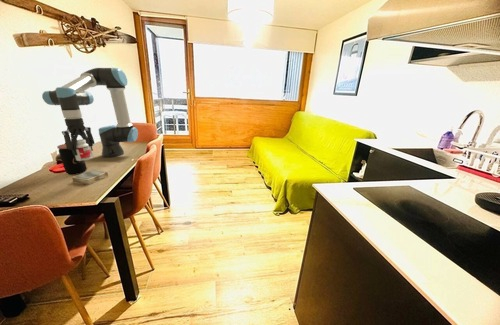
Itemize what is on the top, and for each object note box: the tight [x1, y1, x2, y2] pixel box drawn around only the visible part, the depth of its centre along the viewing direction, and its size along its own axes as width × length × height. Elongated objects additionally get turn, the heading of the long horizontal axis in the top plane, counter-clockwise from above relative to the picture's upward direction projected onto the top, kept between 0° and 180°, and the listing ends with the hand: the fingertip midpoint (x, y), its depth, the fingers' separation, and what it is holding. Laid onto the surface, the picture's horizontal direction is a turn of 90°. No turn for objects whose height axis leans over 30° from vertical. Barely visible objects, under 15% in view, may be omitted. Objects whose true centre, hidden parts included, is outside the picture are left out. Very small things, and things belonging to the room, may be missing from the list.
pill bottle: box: [76, 138, 93, 161], centre depth 113 cm, size 6×6×11 cm
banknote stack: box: [71, 169, 109, 186], centre depth 119 cm, size 12×12×3 cm
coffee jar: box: [57, 143, 88, 176], centre depth 127 cm, size 11×11×18 cm
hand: (85, 158), depth 115 cm, fingers closed on pill bottle, 6 cm apart
